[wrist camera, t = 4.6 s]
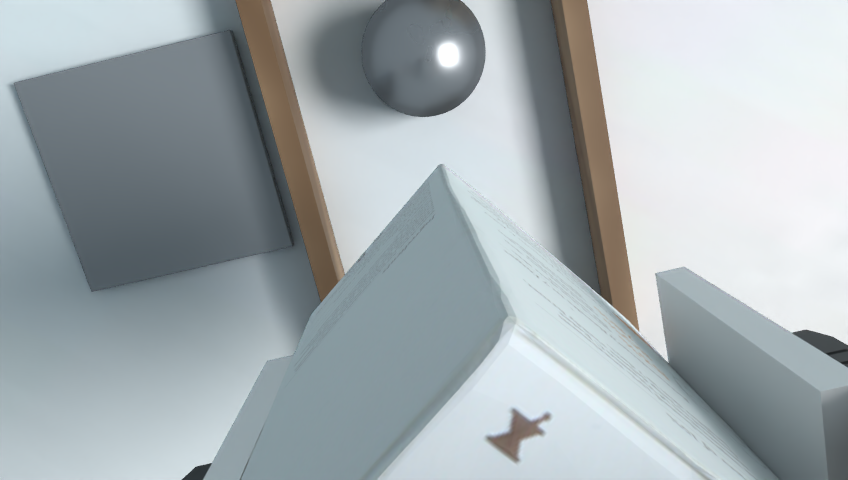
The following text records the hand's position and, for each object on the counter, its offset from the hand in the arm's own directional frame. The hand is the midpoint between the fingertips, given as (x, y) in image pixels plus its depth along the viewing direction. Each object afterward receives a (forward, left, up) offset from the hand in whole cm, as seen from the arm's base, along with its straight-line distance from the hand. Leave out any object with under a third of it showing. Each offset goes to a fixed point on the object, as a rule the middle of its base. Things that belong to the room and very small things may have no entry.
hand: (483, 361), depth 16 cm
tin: (0, +9, -14) cm, 16 cm away
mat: (-13, +7, -14) cm, 20 cm away
